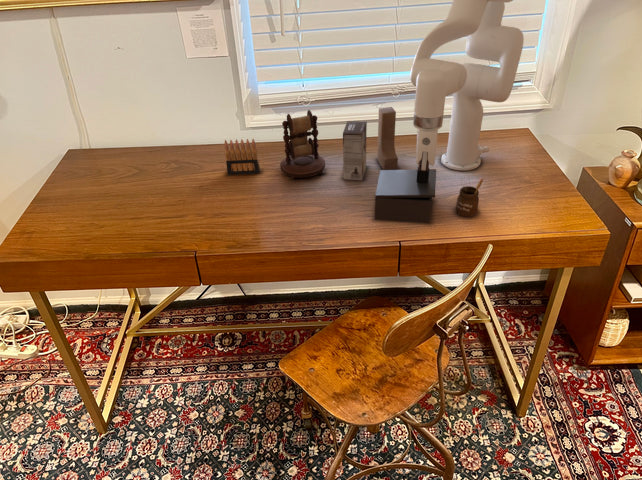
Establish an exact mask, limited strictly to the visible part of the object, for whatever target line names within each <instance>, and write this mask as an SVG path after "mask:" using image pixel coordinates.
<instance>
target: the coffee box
mask: <svg viewBox="0 0 642 480" xmlns="http://www.w3.org/2000/svg"><path fill="white" fill-rule="evenodd" d="M367 125H368V122H367V121H358V120H353V121H352V120H347V121H346V123H345V126H344V129H343V132H342V172H343V174H342V176H343V180H350V181H363V179H364V175H365V172H366V168H367V130H368V129H367V127H368V126H367Z"/></svg>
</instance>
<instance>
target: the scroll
mask: <svg viewBox="0 0 642 480" xmlns="http://www.w3.org/2000/svg"><path fill="white" fill-rule="evenodd" d="M317 123H318V116H317V115H316V114H313V113H312V111H311V110H310V109H308V110H307V112H306V115H303V116H298V117H292V115H291V114H290V113H287V115H286V120H283V121H282V123H281V125H282V129H283V136H282V137H283V138H282V139H283V141H284V143H285V144H284V148H285V149H284V154H285V158H283V159H282V160H281V162H280V164H279V165H280V167H279V168H280V171H281V172H282V173H283V174H285V176H289V177H291V178H292V180H293V181H294V180H296V178H302V179H303V178H309V177H313V176H316V175H319V174H320V175H322V174H323V173H324V170H325V168H326V161H325V158H323V157H322V156H321V155H320V154H319V151H318V150H319V143H318V142H319V140H318V136H319V130H318V125H317ZM311 136H312V137H313V138H311Z"/></svg>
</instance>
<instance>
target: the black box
mask: <svg viewBox="0 0 642 480" xmlns="http://www.w3.org/2000/svg"><path fill="white" fill-rule="evenodd" d="M374 201H375V202H374V221H391V222H402V223H403V222H405V223H417V224H419V223H421V224H430V221H431V213H432V204H433V202H432V201H433V197H420V198H375V197H374Z"/></svg>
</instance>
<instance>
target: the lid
mask: <svg viewBox="0 0 642 480" xmlns="http://www.w3.org/2000/svg"><path fill="white" fill-rule="evenodd" d="M417 170H418V168H417V169H415V168H414V169H397V170H383V169H380V170H379V174H378V179H377V185H376V190H375V194H374V195H375V197H374V199H375V198H420V197H432V198H436V187H437V186H436V185H437V184H436V183H437V181H436V180H437V168H429V178H428V183H417V182H416V181H417Z"/></svg>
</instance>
